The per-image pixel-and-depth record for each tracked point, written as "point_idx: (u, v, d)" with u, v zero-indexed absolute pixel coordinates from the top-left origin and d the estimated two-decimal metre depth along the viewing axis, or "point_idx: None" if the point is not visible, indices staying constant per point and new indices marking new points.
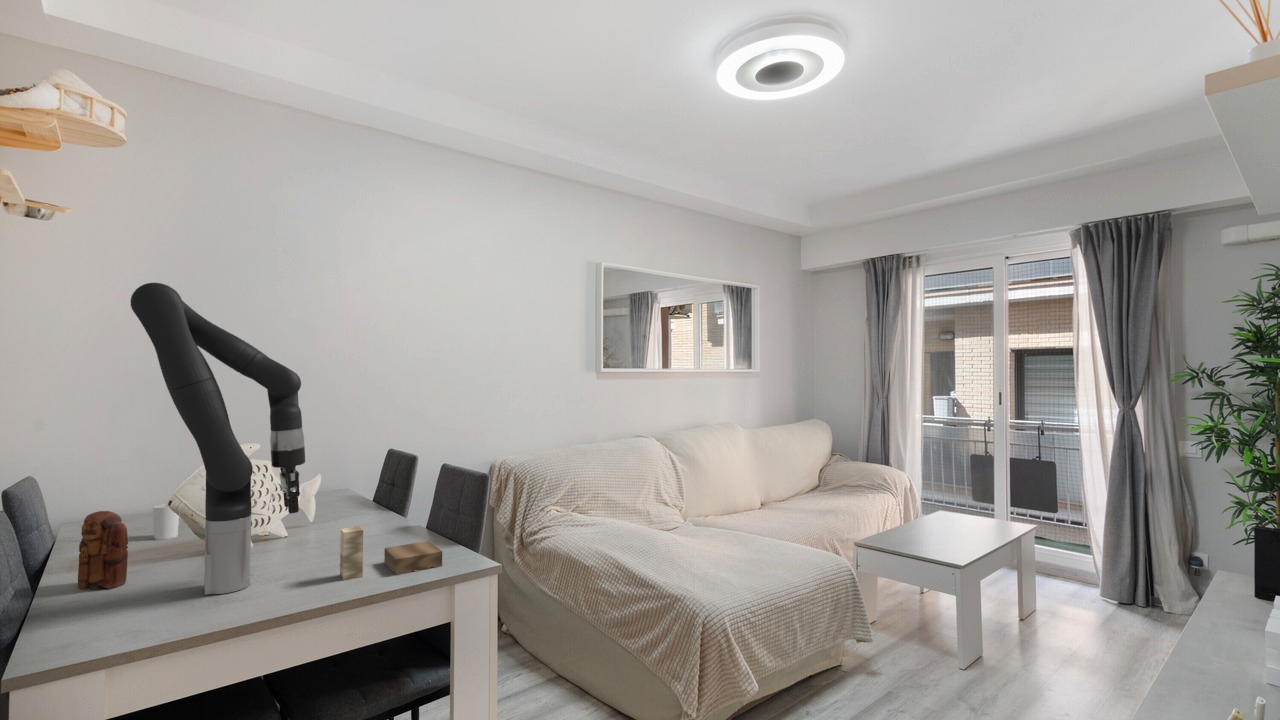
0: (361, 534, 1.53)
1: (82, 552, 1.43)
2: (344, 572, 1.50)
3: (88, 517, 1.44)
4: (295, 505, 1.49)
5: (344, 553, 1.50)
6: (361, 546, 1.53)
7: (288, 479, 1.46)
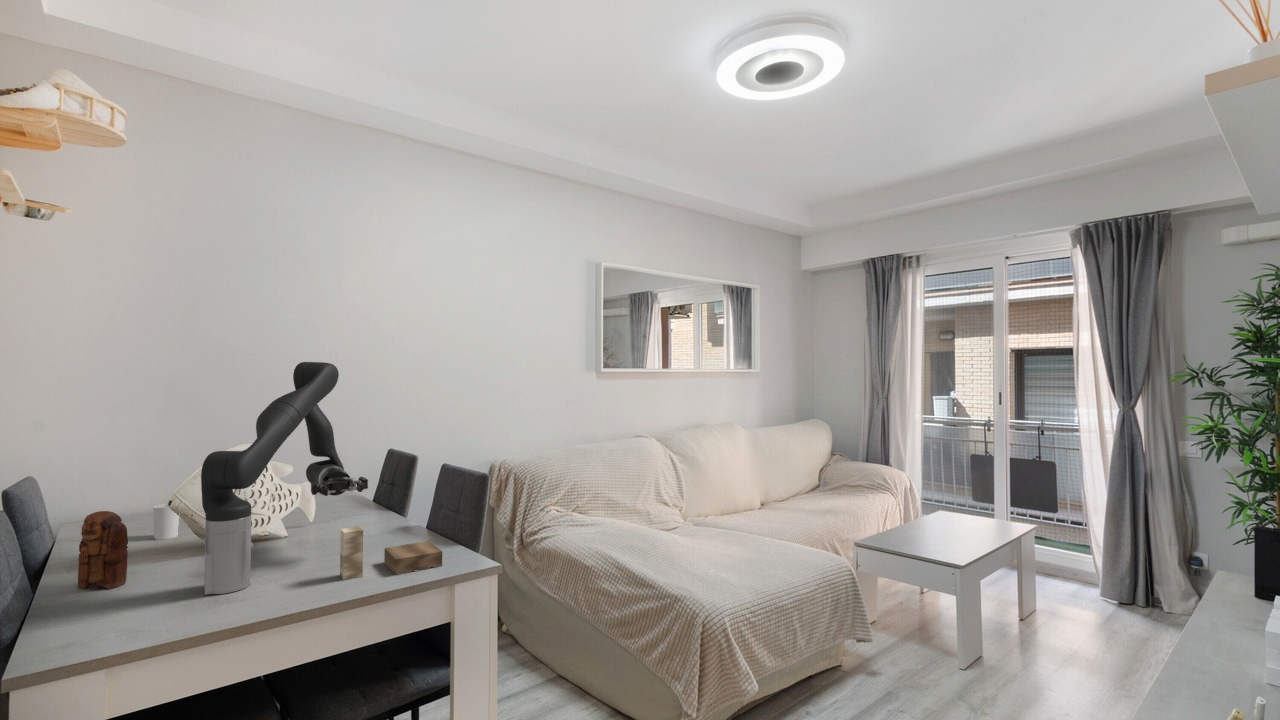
0: (361, 534, 1.53)
1: (82, 552, 1.43)
2: (344, 572, 1.50)
3: (88, 517, 1.44)
4: None
5: (344, 553, 1.50)
6: (361, 546, 1.53)
7: None
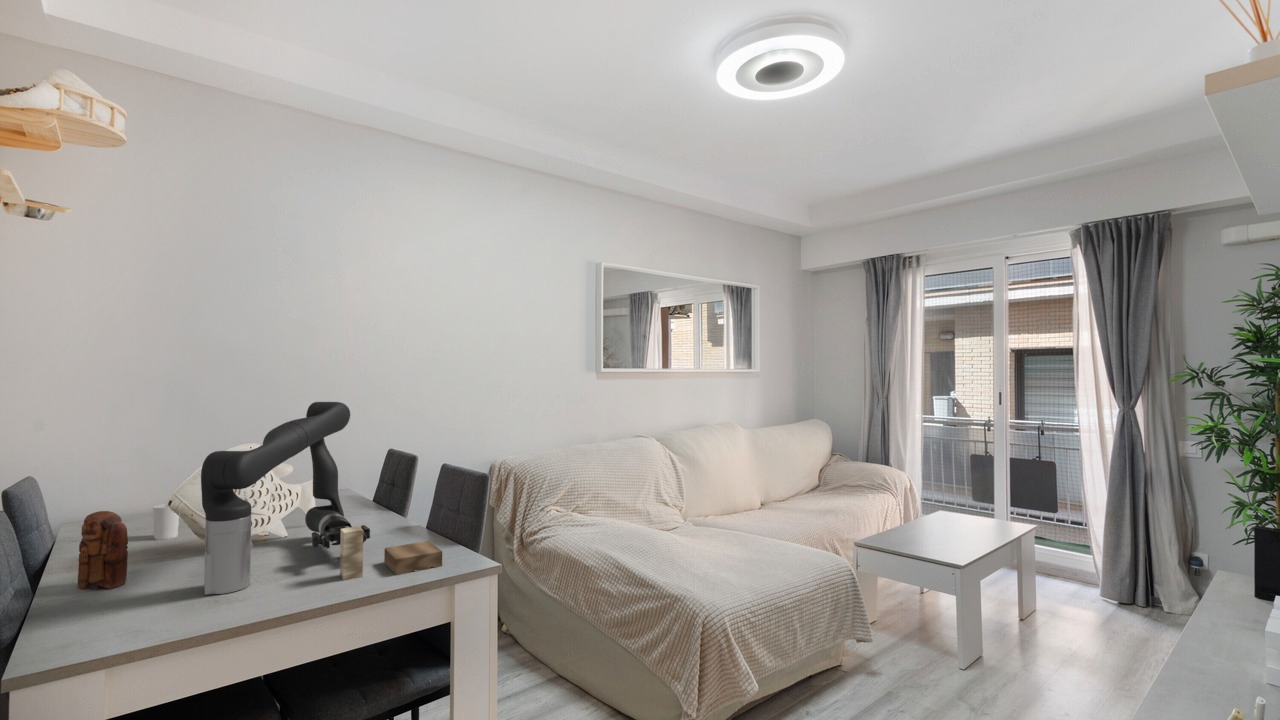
0: (361, 534, 1.53)
1: (82, 552, 1.43)
2: (344, 572, 1.50)
3: (88, 517, 1.44)
4: None
5: (344, 553, 1.50)
6: (361, 546, 1.53)
7: None
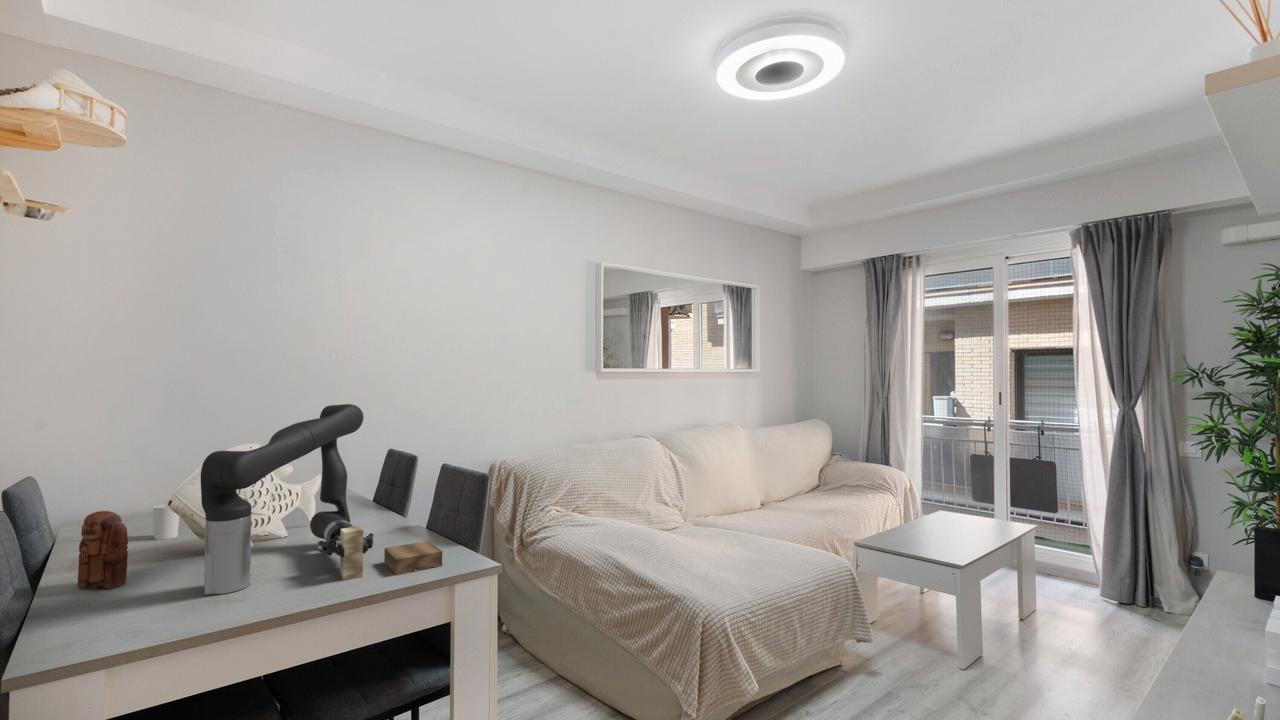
0: (361, 534, 1.53)
1: (82, 552, 1.43)
2: (344, 572, 1.50)
3: (88, 517, 1.44)
4: None
5: (344, 553, 1.50)
6: (361, 546, 1.53)
7: None
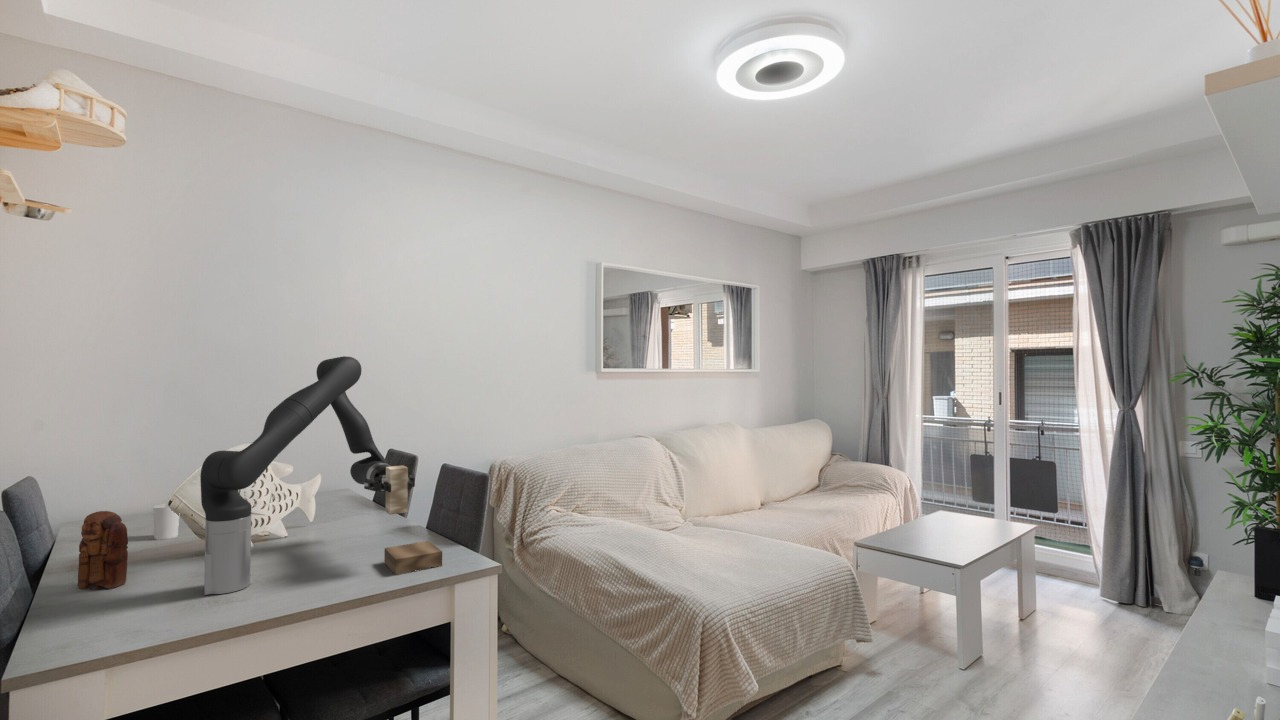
0: (406, 471, 1.60)
1: (82, 552, 1.43)
2: (390, 507, 1.58)
3: (88, 517, 1.44)
4: None
5: None
6: (406, 483, 1.60)
7: (414, 475, 1.69)
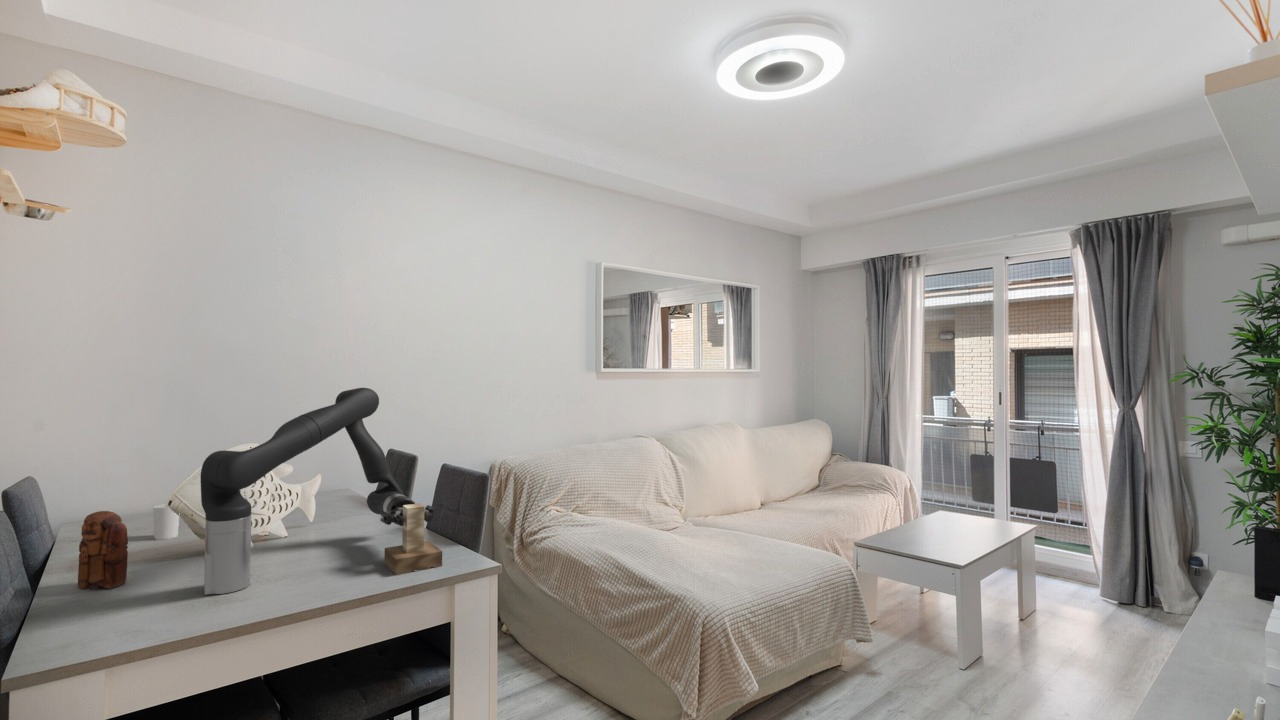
0: (422, 510, 1.62)
1: (82, 552, 1.43)
2: (407, 545, 1.60)
3: (88, 517, 1.44)
4: None
5: (407, 528, 1.60)
6: (422, 521, 1.62)
7: None
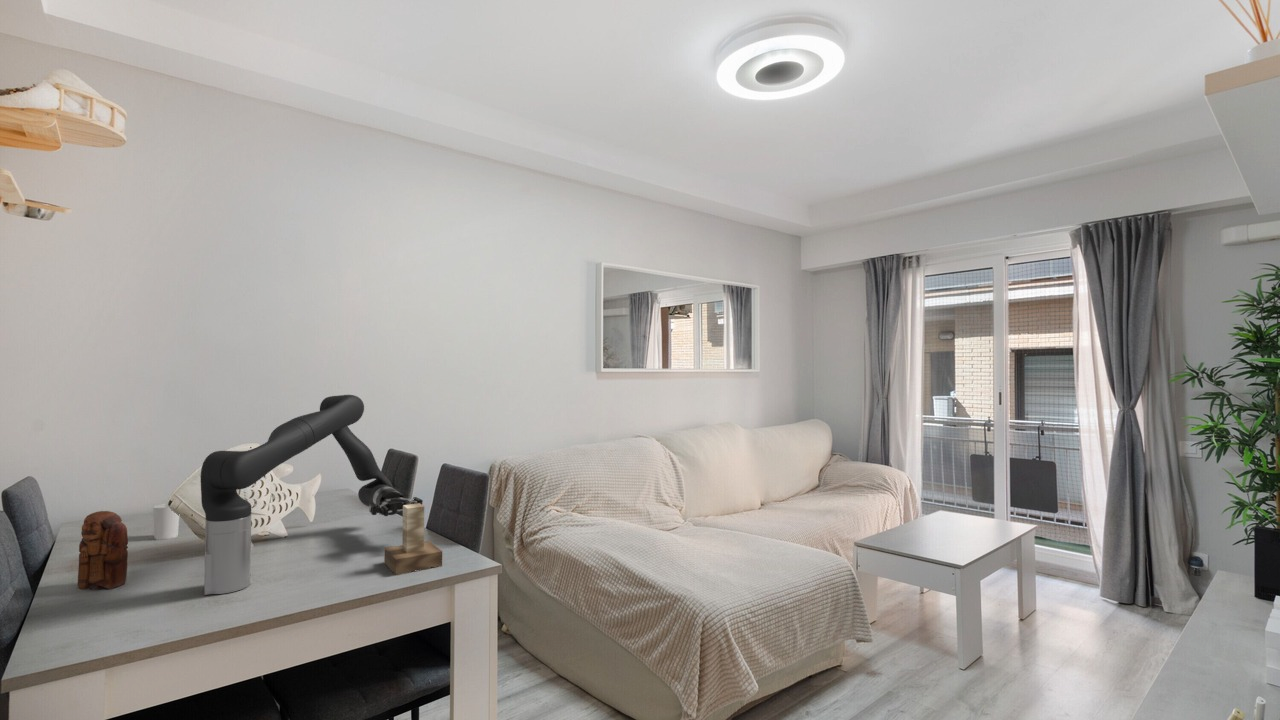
0: (422, 510, 1.62)
1: (82, 552, 1.43)
2: (407, 545, 1.60)
3: (88, 517, 1.44)
4: None
5: (407, 528, 1.60)
6: (422, 521, 1.62)
7: None
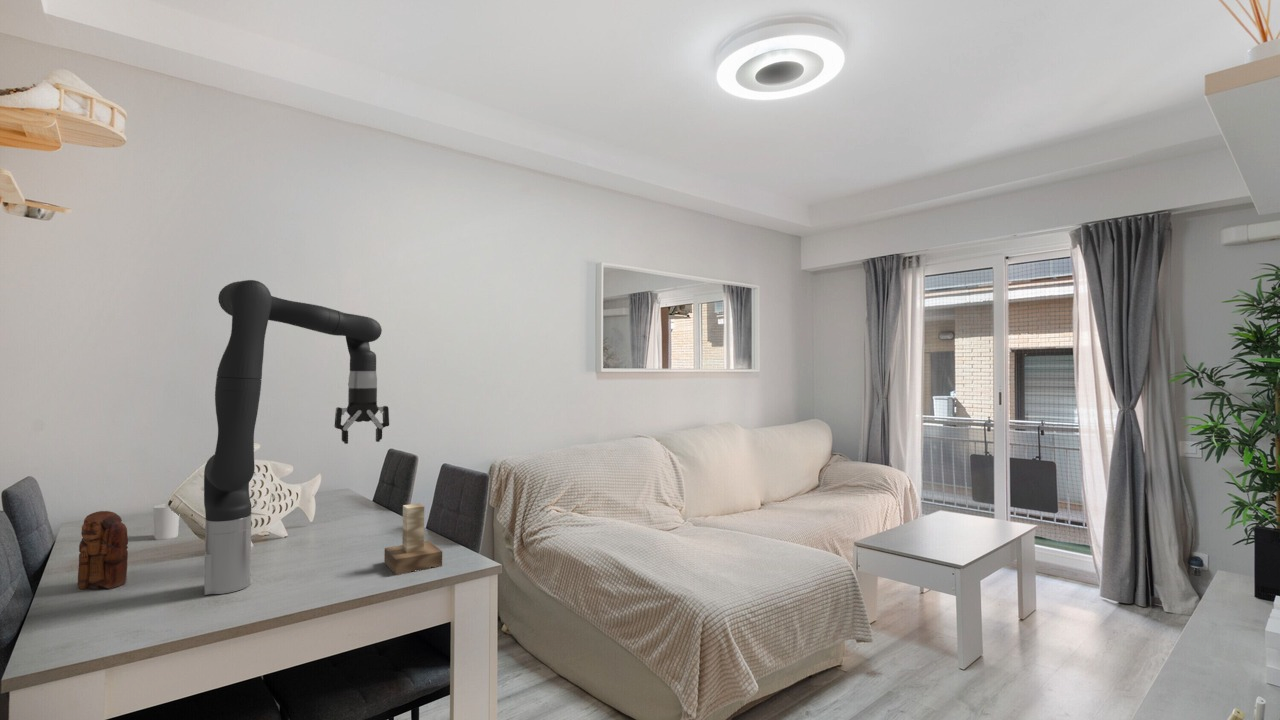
0: (422, 510, 1.62)
1: (82, 552, 1.43)
2: (407, 545, 1.60)
3: (88, 517, 1.44)
4: None
5: (407, 528, 1.60)
6: (422, 521, 1.62)
7: None
